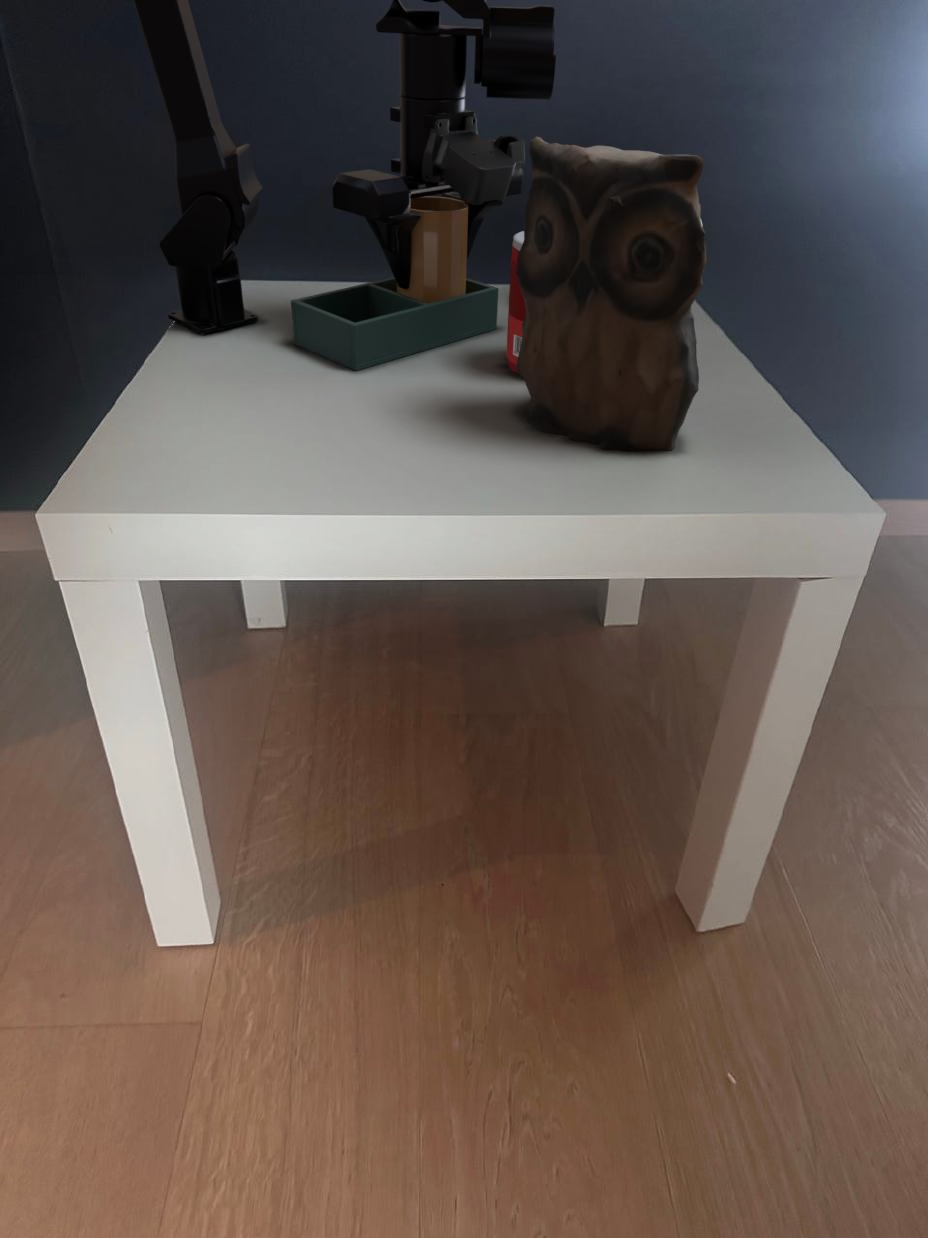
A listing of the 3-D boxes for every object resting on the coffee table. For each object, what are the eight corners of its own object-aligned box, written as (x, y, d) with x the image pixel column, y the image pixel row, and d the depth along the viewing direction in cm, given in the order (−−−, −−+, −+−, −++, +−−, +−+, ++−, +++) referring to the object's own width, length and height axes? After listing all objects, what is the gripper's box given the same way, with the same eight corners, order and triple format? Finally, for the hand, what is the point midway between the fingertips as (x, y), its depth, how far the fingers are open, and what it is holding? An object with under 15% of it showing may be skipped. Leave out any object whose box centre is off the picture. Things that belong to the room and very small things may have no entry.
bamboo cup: (383, 301, 90) (381, 201, 84) (433, 289, 93) (434, 193, 88) (429, 318, 86) (430, 214, 81) (479, 304, 90) (483, 205, 84)
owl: (691, 457, 68) (747, 160, 57) (523, 459, 67) (545, 157, 56) (648, 392, 79) (688, 129, 67) (502, 393, 77) (516, 126, 66)
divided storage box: (293, 343, 86) (290, 300, 84) (433, 306, 96) (433, 267, 94) (355, 370, 81) (354, 325, 78) (496, 329, 91) (498, 287, 89)
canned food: (598, 384, 80) (614, 251, 73) (506, 381, 80) (514, 248, 73) (589, 353, 86) (603, 228, 80) (504, 350, 86) (511, 225, 80)
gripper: (414, 114, 69) (414, 322, 79) (573, 99, 80) (557, 283, 89) (323, 98, 76) (333, 291, 85) (483, 86, 87) (476, 259, 96)
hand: (430, 281), depth 89 cm, fingers closed on bamboo cup, 6 cm apart
